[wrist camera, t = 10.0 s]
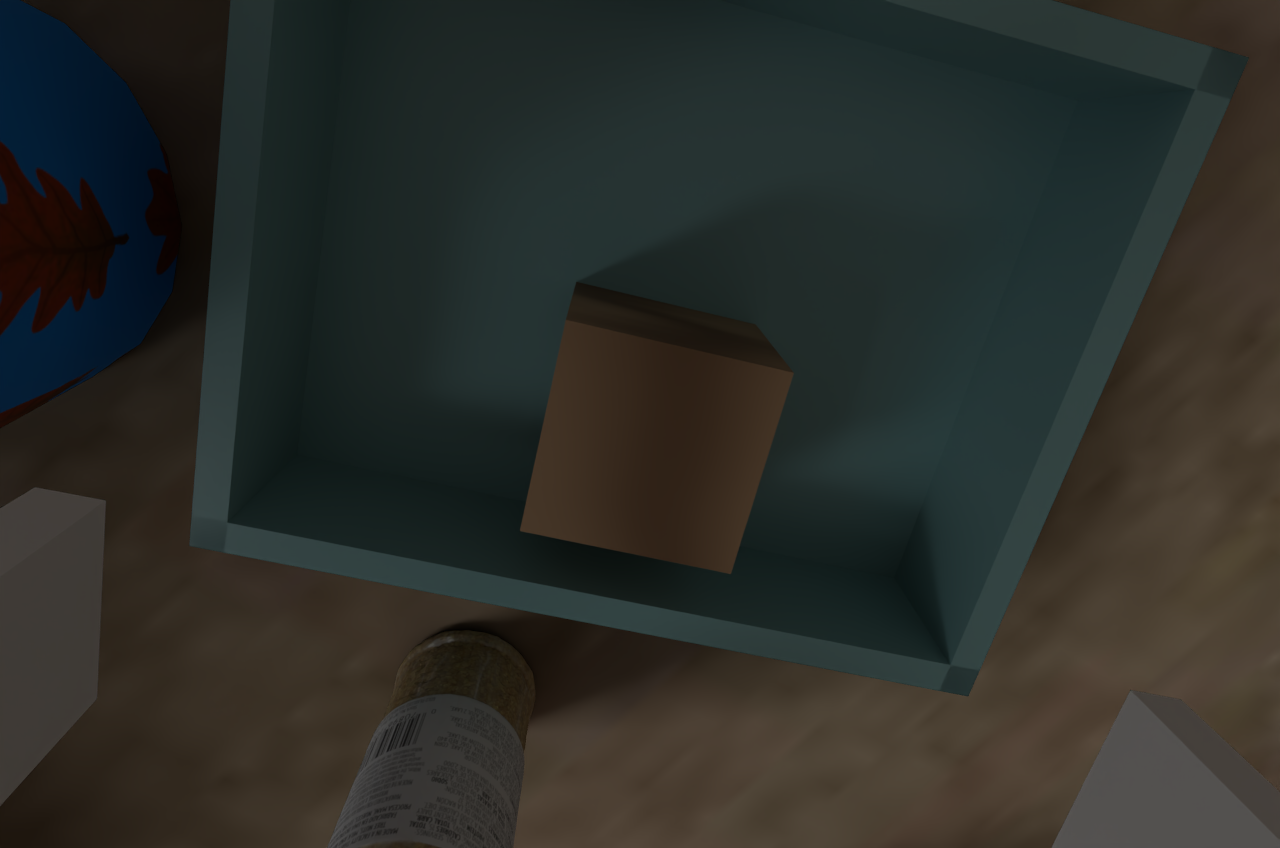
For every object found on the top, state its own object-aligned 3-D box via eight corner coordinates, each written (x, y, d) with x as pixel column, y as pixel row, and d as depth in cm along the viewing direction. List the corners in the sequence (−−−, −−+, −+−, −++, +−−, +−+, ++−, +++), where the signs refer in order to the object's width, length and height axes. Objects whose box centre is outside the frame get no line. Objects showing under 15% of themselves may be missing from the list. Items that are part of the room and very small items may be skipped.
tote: (273, 466, 24) (189, 545, 19) (339, -141, 19) (248, -235, 14) (903, 595, 26) (968, 696, 21) (1106, 77, 21) (1249, 57, 16)
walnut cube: (539, 452, 23) (519, 530, 19) (576, 281, 22) (565, 319, 17) (707, 488, 24) (730, 574, 19) (755, 324, 22) (794, 372, 18)
